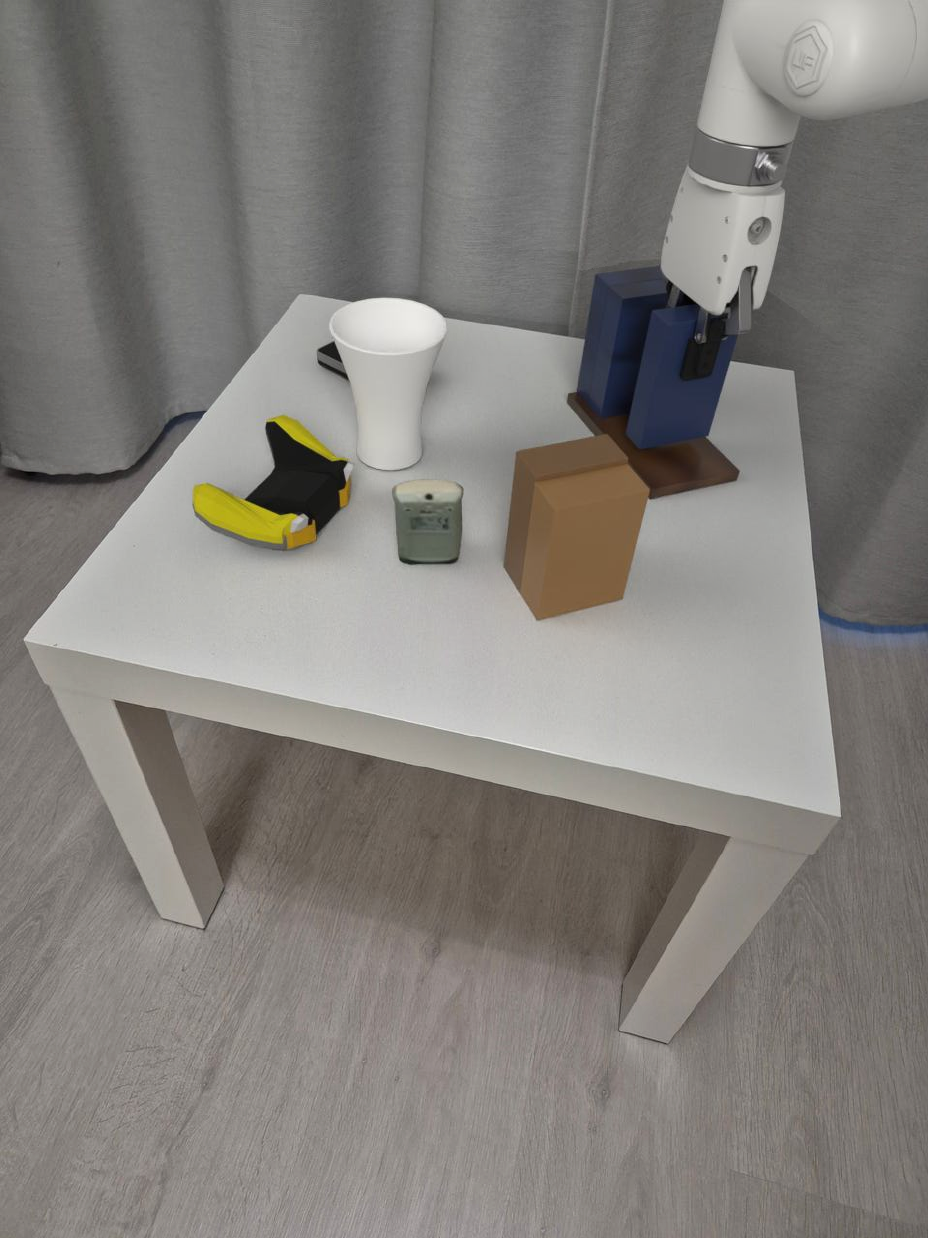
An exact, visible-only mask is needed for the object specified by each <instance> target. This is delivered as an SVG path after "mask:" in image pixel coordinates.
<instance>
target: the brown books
mask: <svg viewBox="0 0 928 1238" xmlns="http://www.w3.org/2000/svg"><path fill="white" fill-rule="evenodd" d="M627 463H628V457H627V456H626V455H625V453H624V452H623V451H622V450H621V449H620V448H619V447H618V445H617V444H616V443H615V442H614V441H613V440H612V439H611V437H610V436H609V435H608V434H604V435H599V436H595V435H594V436H588V437H583V438H578V439H572V440H568V441H561V442H557V443H551V444H547V445H541V446H536V447H531V448H526V449H525V448H524V449H520V450H516V451H515V459H514V469H513V470H514V471H513V477H512V478H513V479H512V488H511V496H510V504H509V515H508V523H507V531H506V540H505V549H504V559H503V568H504V570H505V572H506V573H507V575H508V576H509V578H510V580H511V582H512V583H513V584H514V586H515V588H516V589H517V590H518V592H519V594H520V596H521V597H522V599H523V600H524V602H525V604H526V605H527V607H528V609H529V610H530V611H531V613H532V615H533V616H534V618H535V619H536V621H538V622H539V621H542V620H546V619H551V618H553V617H557V616H562V615H565V614H570V613H573V612H574V613H575V612H579V611H582V610H584V609H589V608H593V607H597V606H601V605H605V604H610V603H613V602H617V601H621V600H623V599H624V595H625V591H626V588H627V583H628V580H629V575H630V573H631V572H630V571H631V567H632V562H633V559H634V555H635V551H636V547H637V543H638V539H639V536H640V532H641V528H642V524H643V520H644V517H645V512H646V508H647V503H648V499H649V498H648V496H649V492H650V489H649V488H648V487H647V485H646V484H645V483H644V482H643V481H642V480H641V479H640V477H639V476H638V475H637V474H636V473H635V472H634V470H633V469H632V468H631V467H630V466H629V465H628V464H627Z"/></svg>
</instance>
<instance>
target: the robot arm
mask: <svg viewBox="0 0 928 1238" xmlns="http://www.w3.org/2000/svg"><path fill="white" fill-rule="evenodd" d="M711 53H712V55H711V58H710V63H709V68H708V71H707V76H706V81H705V85H704V89H703V94H702V99H701V103H700V108H699V113H698V117H697V122H696V125H695V129H694V135H693V139H692V144H691V149H690V152H689V157H688V162H687V164H686V167H685V169H684V172H683V175H682V177H681V181H680V184H679V186H678V189H677V191H676V195H675V198H674V201H673V204H672V208H671V212H670V216H669V219H668V222H667V223H668V224H667V227H666V231H665V236H664V240H663V245H662V251H661V257H660V264H659V266H660V272H661V275H662V277H663V279H664V281H665V284H666V291H667V296H668V303H667V307H666V308H672V307H679V306H686V305H693V304H699V305H700V310H699V315H698V320H697V325H696V330H695V338H690V339H689V341H688V344H687V348H686V352H685V356H684V360H683V364H682V368H681V372H680V378H681V379H682V380H683V381H689V380H695V379H700V378H706V377H709V376H711V374H712V372H713V369H714V365H715V361H716V358H717V354H718V351H719V347H720V344H721V340H725V339H727V337H728V336H729V335H734V334H738V335H741V334H748V333H750V332H751V331H752V330H751V329H752V326H753V325H752V311H757V310H759V309H760V308H761V307H762V305H763V302H764V301H765V300H764V299H765V298H766V293H767V290H768V287H769V284H770V280H771V276H772V272H773V268H774V265H775V259H776V255H777V252H778V245H779V241H780V236H781V231H782V225H783V217H784V210H785V198H786V190H785V189H784V188H783V187H782V183H783V180H784V179H785V177H786V176H787V173H788V163H789V160H790V156H791V153H792V149H793V146H794V142H795V138H796V135H797V132H798V127H799V124H800V122H801V118H802V117H804V118H806V119H808V120H809V119H811V120H816V121H833V120H840V119H845V118H849V117H854V116H859V115H863V114H867V113H869V112H870V113H871V112H875V111H881V110H884V109H890V108H895V107H902V106H906V105H912V104H915V103H918V102H922V101H924V100H927V99H928V0H723V2H722V8H721V12H720V16H719V20H718V26H717V30H716V35H715V40H714V44H713V48H712V52H711ZM714 315H716V316H718V315H719V318H718V320H717V321H715V322H714V323H712V324H710V323H711V318H712V316H714Z"/></svg>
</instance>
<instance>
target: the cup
mask: <svg viewBox="0 0 928 1238" xmlns="http://www.w3.org/2000/svg"><path fill="white" fill-rule="evenodd" d="M328 328H329V331H330V334H331V337H332V339H333V341H335V344H336V347H337V349H338V352H339V354H340V357H341V359H342V362H343V365H344V367H345V370H346V373H347V375H348V378H349V380H348V381H349V384H350V388H351V391H352V397H353V400H354V406H355V411H356V412H355V413H356V420H357V429H358V430H357V444H356V455H357V457H358V458H359V459H360V461H361V462H362V463H364V464H365V465H366V466H369V467H371V468H373V469H377V470H383V471H398V470H403V469H407V468H410V467H411V466H414V465H415V464H416V463H417V462H419V461H420V460H421V458H422V455H423V442H422V440H423V439H422V431H421V430H422V429H421V428H422V417H423V408H424V403H425V398H426V395H427V389H428V385H429V382H430V379H431V376H432V374H433V372H434V368H435V365H436V362H437V360H438V357H439V354H440V352H441V349H442V346H443V344H444V341H445V338H446V336H447V333H448V323H447V321H446V320H445V318H444V316H443V315H442V314H441V313H440V312H439V311H438V310H436V309H435V308H434V307H431V306H429V305H427V304H425V303H422V302H418V301H415V300H412V299H405V298H400V297H374V298H373V297H372V298H365V299H361V300H357V301H354V302H351V303H349V304H346V305H344V306H342V307H341V308H339V309H338V310H336V311H335V312H334V314H333V315H332V316H331V317H330V319H329V324H328Z"/></svg>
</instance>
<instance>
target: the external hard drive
mask: <svg viewBox="0 0 928 1238" xmlns="http://www.w3.org/2000/svg"><path fill="white" fill-rule="evenodd" d="M316 360H317V363H318V365H319V366H321V367H322V368H324V369H327V370H328V371H331V372H332V373H335V374H336V375H339V376H340V377H343V378H344V379H347V380H348V381H349V378H348V375H347V373H346V370H345V367H344V365H343V362H342V359H341V357H340V354H339V352H338V349H337V347H336V344H335V341H334V340H332V341H330V342H328V343H326V344H324V345H322V346H319V347H318V348H317V349H316Z"/></svg>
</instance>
